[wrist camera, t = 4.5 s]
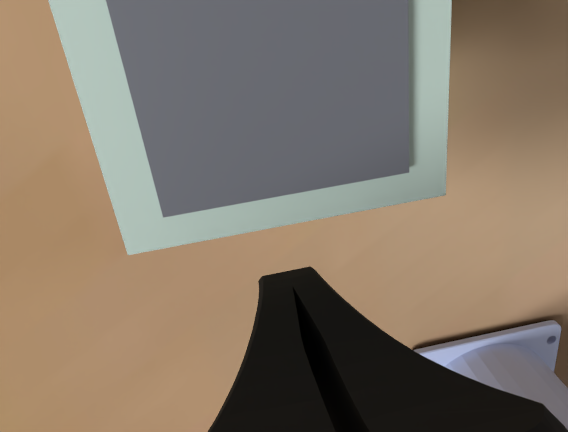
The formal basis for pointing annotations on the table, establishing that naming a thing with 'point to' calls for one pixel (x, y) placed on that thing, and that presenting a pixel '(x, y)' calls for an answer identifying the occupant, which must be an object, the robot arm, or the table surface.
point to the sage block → (258, 109)
